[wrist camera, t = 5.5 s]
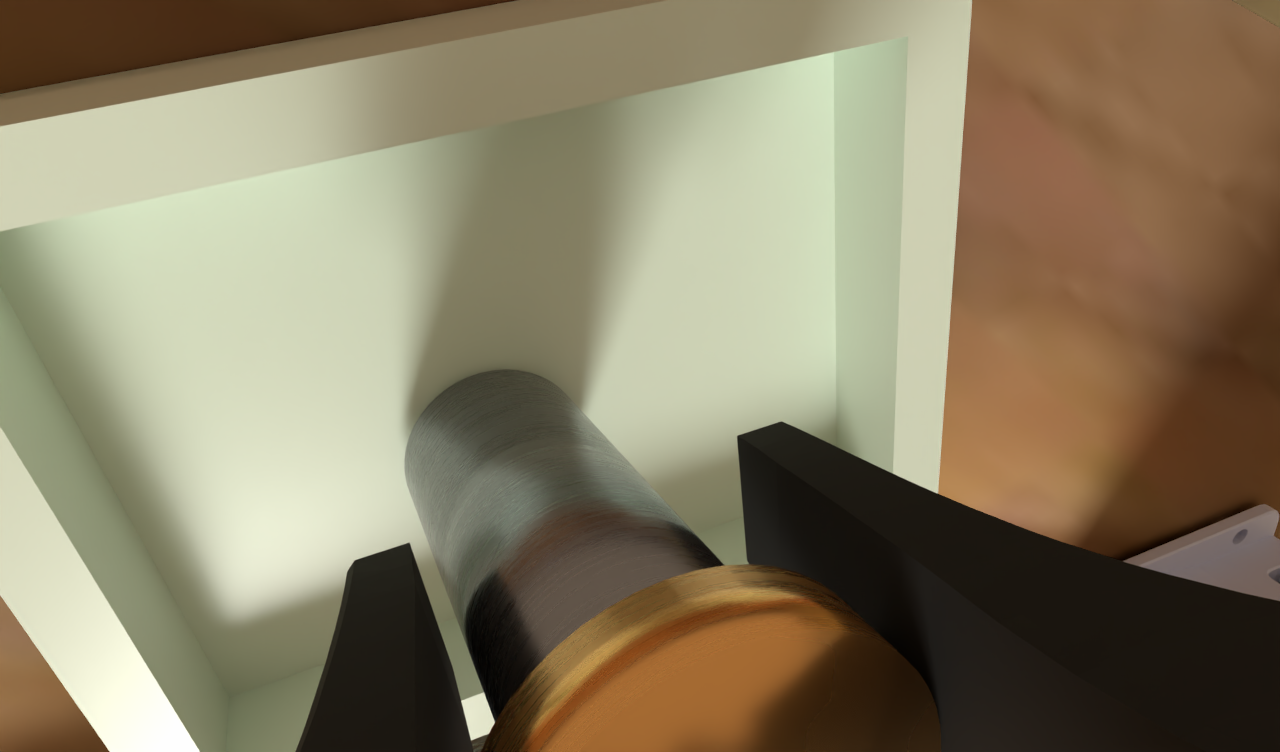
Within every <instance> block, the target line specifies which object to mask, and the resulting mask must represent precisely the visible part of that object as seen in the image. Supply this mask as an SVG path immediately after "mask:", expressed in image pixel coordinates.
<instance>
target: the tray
mask: <svg viewBox="0 0 1280 752" xmlns="http://www.w3.org/2000/svg"><path fill="white" fill-rule="evenodd" d="M971 10H972V0H516V1H511V2H505V3H500V4H494V5H489V6H483V7H478V8H472V9H467V10H461V11H456V12H450V13H445V14H439V15H433V16H428V17H422V18H417V19H411V20H406V21H400V22H395V23H389V24H384V25H378V26H373V27H367V28H362V29H356V30H350V31H345V32H339V33H334V34H328V35H323V36H317V37H312V38H306V39H301V40H295V41H290V42H284V43H279V44H273V45H268V46H262V47H256V48H251V49H245V50H240V51H234V52H229V53H223V54H218V55H212V56H207V57H201V58H196V59H190V60H185V61H179V62H174V63H168V64H162V65H157V66H151V67H146V68H140V69H135V70H129V71H124V72H118V73H113V74H107V75H102V76H96V77H91V78H85V79H80V80H74V81H68V82H63V83H57V84H52V85H46V86H41V87H35V88H30V89H24V90H19V91H13V92H8V93H2V94H0V595H1V597H2V598H3V600H4V601H5V603H6V604H7V605H8V607H9V608H10V610H11V611H12V613H13V614H14V615H15V617H16V618H17V620H18V621H19V623H20V624H21V625H22V627H23V628H24V630H25V631H26V633H27V634H28V635H29V637H30V638H31V640H32V641H33V643H34V644H35V645H36V647H37V648H38V650H39V651H40V653H41V654H42V655H43V657H44V658H45V660H46V661H47V663H48V664H49V665H50V667H51V668H52V670H53V671H54V673H55V674H56V675H57V677H58V678H59V680H60V681H61V683H62V684H63V686H64V687H65V688H66V690H67V691H68V693H69V694H70V696H71V697H72V698H73V700H74V701H75V703H76V704H77V706H78V707H79V708H80V710H81V711H82V713H83V714H84V716H85V717H86V718H87V720H88V721H89V723H90V724H91V726H92V727H93V728H94V730H95V731H96V733H97V734H98V736H99V737H100V738H101V740H102V741H103V743H104V744H105V746H106V747H107V748H108V750H109V751H110V752H295V751H296V749H297V746H298V744H299V741H300V738H301V736H302V733H303V730H304V727H305V724H306V721H307V718H308V715H309V712H310V709H311V706H312V703H313V700H314V697H315V694H316V691H317V688H318V684H319V681H320V678H321V675H322V672H323V669H324V666H325V663H326V659H327V656H328V652H329V649H330V645H331V641H332V638H333V634H334V631H335V627H336V623H337V619H338V615H339V611H340V606H341V602H342V597H343V592H344V587H345V582H346V576H347V571H348V570H349V568H350V566H351V565H352V563H353V562H354V560H357V559H360V558H363V557H366V556H369V555H372V554H375V553H378V552H382V551H385V550H388V549H391V548H394V547H397V546H400V545H403V544H406V543H409V542H410V545H411V548H412V551H413V554H414V557H415V560H416V563H417V566H418V568H419V571H420V574H421V577H422V580H423V583H424V586H425V589H426V592H427V595H428V597H429V600H430V603H431V606H432V609H433V612H434V615H435V618H436V621H437V623H438V626H439V629H440V632H441V635H442V638H443V641H444V644H445V647H446V649H447V652H448V655H449V658H450V661H451V664H452V667H453V670H454V674H455V678H456V682H457V686H458V690H459V694H460V698H461V702H462V706H463V710H464V714H465V718H466V722H467V726H468V730H469V734H470V738H471V740H474V739H476V738H479V737H481V736H484V735H487V734H489V733H490V731H491V728H492V727H493V725H494V724H495V721H494V718H493V716H492V713H491V710H490V708H489V705H488V702H487V699H486V697H485V694H484V691H483V689H482V686H481V683H480V681H479V678H478V675H477V673H476V670H475V667H474V664H473V662H472V659H471V656H470V654H469V651H468V648H467V646H466V643H465V640H464V638H463V635H462V632H461V630H460V627H459V624H458V621H457V619H456V616H455V613H454V611H453V608H452V605H451V603H450V600H449V597H448V595H447V592H446V589H445V586H444V584H443V581H442V578H441V576H440V573H439V570H438V568H437V565H436V562H435V560H434V557H433V554H432V552H431V549H430V546H429V543H428V541H427V538H426V535H425V533H424V530H423V527H422V525H421V522H420V519H419V517H418V514H417V511H416V508H415V506H414V503H413V500H412V498H411V495H410V492H409V489H408V486H407V483H406V478H405V472H404V459H405V451H406V446H407V443H408V439H409V436H410V434H411V431H412V429H413V427H414V425H415V423H416V421H417V420H418V418H419V416H420V415H421V414H422V412H423V411H424V410H425V408H426V407H427V406H428V405H429V404H430V403H431V402H432V401H433V400H434V399H435V398H436V397H437V396H438V395H439V394H440V393H442V392H443V391H444V390H446V389H447V388H448V387H450V386H452V385H453V384H455V383H457V382H458V381H460V380H463V379H465V378H467V377H469V376H472V375H475V374H478V373H481V372H487V371H492V370H503V369H510V370H521V371H526V372H530V373H533V374H536V375H539V376H541V377H543V378H545V379H547V380H549V381H551V382H552V383H554V384H555V385H557V386H558V387H559V388H560V389H561V390H562V391H564V392H565V393H566V394H567V395H568V396H569V398H570V399H571V400H572V401H573V402H574V403H575V404H576V405H577V406H578V407H579V408H580V409H581V411H582V412H583V413H584V414H585V415H586V416H587V417H588V418H589V419H590V420H591V421H592V422H593V424H594V425H595V426H596V427H597V428H598V429H599V430H600V431H601V432H602V433H603V434H604V435H605V437H606V438H607V439H608V440H609V441H610V442H611V443H612V444H613V445H614V446H615V447H616V448H617V449H618V451H619V452H620V453H621V454H622V455H623V456H624V457H625V458H626V459H627V460H628V461H629V462H630V464H631V465H632V466H633V467H634V468H635V469H636V470H637V471H638V472H639V473H640V474H641V475H642V477H643V478H644V479H645V480H646V481H647V482H648V483H649V484H650V485H651V486H652V487H653V488H654V490H655V491H656V492H657V493H658V494H659V495H660V496H661V497H662V498H663V499H664V500H665V501H666V503H667V504H668V505H669V506H670V507H671V508H672V509H673V510H674V511H675V512H676V513H677V514H678V515H679V517H680V518H681V519H682V520H683V521H684V522H685V523H686V524H687V525H688V526H689V527H690V528H691V530H692V531H693V532H694V533H695V534H696V535H697V536H698V537H699V538H700V539H701V540H702V541H703V543H704V544H705V545H706V546H707V547H708V548H709V549H710V550H711V551H712V552H713V553H714V554H715V556H716V557H717V558H718V559H719V560H720V561H721V562H722V563H723V564H724V565H744V564H749V563H748V561H747V555H746V542H745V530H744V517H743V505H742V492H741V480H740V468H739V455H738V443H737V436H738V435H741V434H744V433H747V432H750V431H753V430H756V429H759V428H762V427H766V426H769V425H772V424H775V423H778V422H781V421H782V422H784V423H787V424H789V425H791V426H794V427H796V428H798V429H800V430H802V431H805V432H807V433H809V434H811V435H813V436H815V437H817V438H819V439H821V440H824V441H826V442H828V443H830V444H832V445H834V446H836V447H838V448H840V449H842V450H844V451H846V452H849V453H851V454H853V455H855V456H857V457H859V458H861V459H863V460H865V461H867V462H869V463H872V464H874V465H876V466H878V467H880V468H882V469H884V470H886V471H889V472H891V473H893V474H895V475H897V476H899V477H901V478H904V479H906V480H908V481H910V482H912V483H915V484H917V485H919V486H921V487H924V488H926V489H928V490H930V491H933V492H935V493H937V494H938V485H939V471H940V456H941V442H942V428H943V413H944V399H945V384H946V370H947V356H948V341H949V327H950V312H951V298H952V284H953V269H954V255H955V240H956V226H957V212H958V197H959V183H960V168H961V154H962V140H963V125H964V111H965V96H966V82H967V68H968V53H969V39H970V24H971Z"/></svg>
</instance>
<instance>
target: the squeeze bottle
mask: <svg viewBox="0 0 1280 752" xmlns="http://www.w3.org/2000/svg"><path fill="white" fill-rule="evenodd" d="M1232 1H1234V2H1236V3H1237V4H1239V5H1241V6H1243V7H1244V8H1246V9H1248V10H1250V11H1251V12H1253V13H1255V14H1257V15H1258V16H1260V17H1262V18H1264V19H1265V20H1267V21H1269V22H1270V23H1272V24H1274V25H1276V26H1277V27H1279V28H1280V0H1232Z"/></svg>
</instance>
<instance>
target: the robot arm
mask: <svg viewBox="0 0 1280 752" xmlns="http://www.w3.org/2000/svg"><path fill="white" fill-rule="evenodd" d="M737 443H738V455H739V468H740V480H741V492H742V505H743V517H744V530H745V542H746V555H747V561H748V563H749V564H754V565H765V566H775V567H780V568H783V569H787V570H791V571H795V572H799V573H801V574H803V575H805V576H808V577H810V578H812V579H814V580H817V581H818V582H820V583H821V584H823V585H824V586H826V587H827V588H829V589H830V590H832V591H833V592H834V593H836V594H837V595H838V596H839V597H840V598H841V599H842V600H843V601H844V602H845V603H846V604H847V605H849V606H850V607H851V608H852V609H853V610H854V611H855V612H856V613H857V614H858V615H859V616H860V617H861V618H863V619H864V620H865V621H866V622H867V623H868V624H869V625H870V626H871V627H872V628H873V629H874V630H876V631H877V632H878V633H879V634H880V635H881V636H882V637H883V638H884V639H885V640H886V641H887V642H888V643H890V644H891V645H892V646H893V647H894V648H895V649H896V650H897V651H898V652H899V653H900V654H901V655H903V656H904V657H905V658H906V659H907V660H908V661H909V662H910V663H911V665H912V666H913V667H914V668H915V669H916V670H917V671H918V672H919V673H920V675H921V676H922V678H923V679H924V681H925V683H926V684H927V686H928V687H929V689H930V692H931V694H932V697H933V699H934V702H935V705H936V707H937V712H938V718H939V723H940V729H941V752H1280V539H1278V538H1277V537H1275V536H1274V533H1275V530H1276V527H1277V524H1278V521H1279V513H1278V511H1276V510H1275V509H1273V508H1272V507H1270V506H1268V505H1266V504H1262V505H1258V506H1255V507H1253V508H1250V509H1248V510H1245V511H1243V512H1241V513H1238V514H1236V515H1233V516H1231V517H1228V518H1226V519H1224V520H1221V521H1219V522H1216V523H1214V524H1211V525H1209V526H1207V527H1204V528H1202V529H1199V530H1197V531H1194V532H1192V533H1190V534H1187V535H1185V536H1182V537H1180V538H1178V539H1175V540H1173V541H1170V542H1168V543H1165V544H1163V545H1161V546H1158V547H1156V548H1153V549H1151V550H1148V551H1146V552H1144V553H1141V554H1139V555H1136V556H1134V557H1131V558H1129V559H1127V560H1124V561H1120V560H1117V559H1114V558H1110V557H1107V556H1104V555H1101V554H1098V553H1095V552H1092V551H1088V550H1085V549H1082V548H1079V547H1076V546H1073V545H1070V544H1066V543H1063V542H1060V541H1057V540H1054V539H1052V538H1049V537H1046V536H1043V535H1040V534H1037V533H1035V532H1032V531H1029V530H1026V529H1024V528H1021V527H1019V526H1016V525H1013V524H1011V523H1008V522H1006V521H1003V520H1001V519H998V518H996V517H993V516H990V515H988V514H985V513H983V512H980V511H978V510H975V509H973V508H970V507H968V506H965V505H963V504H961V503H958V502H956V501H954V500H951V499H949V498H946V497H944V496H942V495H939V494H937V493H935V492H933V491H930V490H928V489H926V488H924V487H921V486H919V485H917V484H915V483H912V482H910V481H908V480H906V479H904V478H901V477H899V476H897V475H895V474H893V473H891V472H889V471H886V470H884V469H882V468H880V467H878V466H876V465H874V464H872V463H869V462H867V461H865V460H863V459H861V458H859V457H857V456H855V455H853V454H851V453H849V452H846V451H844V450H842V449H840V448H838V447H836V446H834V445H832V444H830V443H828V442H826V441H824V440H821V439H819V438H817V437H815V436H813V435H811V434H809V433H807V432H805V431H802V430H800V429H798V428H796V427H794V426H791V425H789V424H787V423H784V422H782V421H781V422H778V423H775V424H772V425H769V426H766V427H762V428H759V429H756V430H753V431H750V432H747V433H744V434H741V435H738V436H737ZM295 752H474V751H473V746H472V742H471V738H470V734H469V730H468V726H467V722H466V718H465V714H464V710H463V706H462V702H461V698H460V694H459V690H458V686H457V682H456V678H455V674H454V670H453V667H452V664H451V661H450V658H449V655H448V652H447V649H446V647H445V644H444V641H443V638H442V635H441V632H440V629H439V626H438V623H437V621H436V618H435V615H434V612H433V609H432V606H431V603H430V600H429V597H428V595H427V592H426V589H425V586H424V583H423V580H422V577H421V574H420V571H419V568H418V566H417V563H416V560H415V557H414V554H413V551H412V548H411V545H410V542H409V543H406V544H403V545H400V546H397V547H394V548H391V549H388V550H385V551H382V552H378V553H375V554H372V555H369V556H366V557H363V558H360V559H357V560H354V562H353V563H352V565H351V566H350V568H349V570H348V571H347V576H346V582H345V587H344V592H343V597H342V602H341V606H340V611H339V615H338V619H337V623H336V627H335V631H334V634H333V638H332V641H331V645H330V649H329V652H328V656H327V659H326V663H325V666H324V669H323V672H322V675H321V678H320V681H319V684H318V688H317V691H316V694H315V697H314V700H313V703H312V706H311V709H310V712H309V715H308V718H307V721H306V724H305V727H304V730H303V733H302V736H301V738H300V741H299V744H298V746H297V749H296V751H295Z"/></svg>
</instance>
